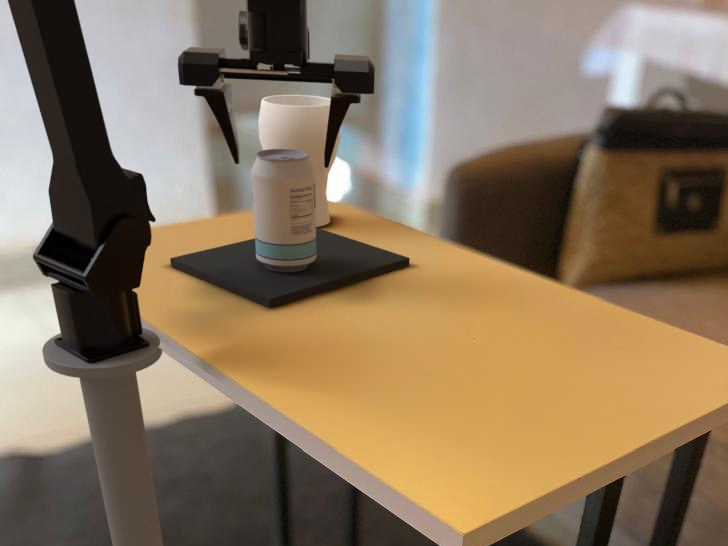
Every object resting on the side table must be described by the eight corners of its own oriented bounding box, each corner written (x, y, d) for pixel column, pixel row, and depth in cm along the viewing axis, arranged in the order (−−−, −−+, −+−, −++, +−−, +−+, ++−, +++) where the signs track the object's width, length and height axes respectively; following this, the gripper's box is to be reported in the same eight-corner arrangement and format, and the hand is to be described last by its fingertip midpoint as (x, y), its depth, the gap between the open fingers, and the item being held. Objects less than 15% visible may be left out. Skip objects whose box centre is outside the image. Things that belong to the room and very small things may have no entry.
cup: (255, 228, 112) (247, 103, 104) (273, 208, 121) (268, 91, 112) (333, 234, 112) (332, 109, 103) (346, 213, 120) (346, 97, 112)
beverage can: (275, 253, 101) (270, 145, 94) (327, 262, 99) (325, 152, 92) (245, 268, 96) (237, 155, 89) (298, 278, 94) (294, 164, 87)
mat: (270, 308, 89) (269, 298, 88) (170, 266, 98) (169, 258, 98) (409, 265, 102) (409, 257, 102) (310, 232, 112) (310, 225, 111)
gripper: (374, -13, 85) (370, 153, 94) (188, -23, 84) (202, 146, 93) (376, -8, 76) (372, 175, 85) (168, -19, 75) (186, 167, 84)
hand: (282, 165), depth 87 cm, fingers open, 9 cm apart
